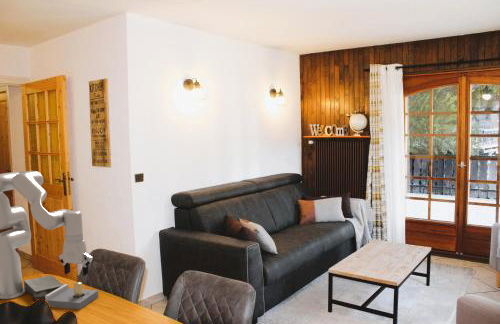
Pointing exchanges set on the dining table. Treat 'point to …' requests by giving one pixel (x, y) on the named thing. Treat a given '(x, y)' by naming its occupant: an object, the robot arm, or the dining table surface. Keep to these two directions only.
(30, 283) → the stone block
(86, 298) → the plate
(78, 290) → the brass pin
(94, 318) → the dining table surface
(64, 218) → the robot arm
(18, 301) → the dining table surface
